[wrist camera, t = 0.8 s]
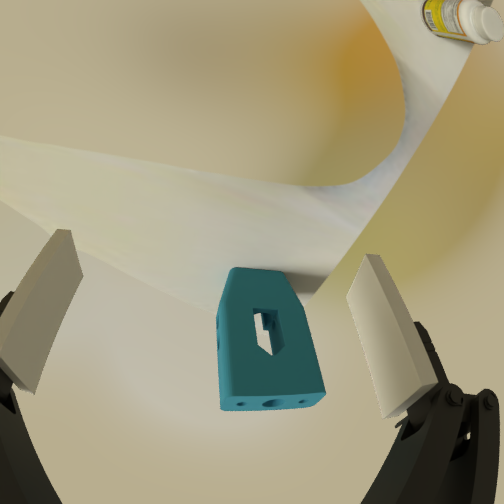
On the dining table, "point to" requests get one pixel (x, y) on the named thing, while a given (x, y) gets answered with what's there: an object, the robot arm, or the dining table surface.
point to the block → (257, 359)
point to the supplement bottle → (462, 20)
